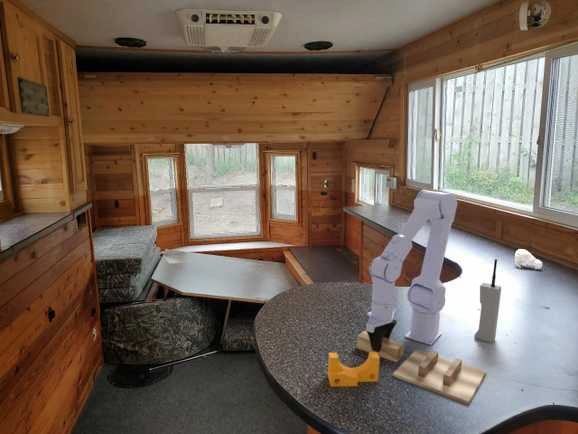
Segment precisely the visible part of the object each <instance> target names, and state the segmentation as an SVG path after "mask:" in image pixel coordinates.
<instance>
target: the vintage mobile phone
mask: <svg viewBox="0 0 578 434" xmlns="http://www.w3.org/2000/svg"><path fill="white" fill-rule="evenodd" d="M497 263H498V259H497V258H495V259H494V263H493V272H492V277H491V278H492V279H491V283H487V282H483V283H481V284H480V286H479V303H480V306H481V307H480V314H479V323H478V329H477V331H476V332H475V333H474V339H476V340H479V341H483V342H486V343H490V344H493V342H494V341H495V340H496V334H497V329H498V328H497V327H498V317H499V310H500V302H501V301H500V300H501V294H502V287H501V286H500V285H496V278H497V277H496V271H497Z"/></svg>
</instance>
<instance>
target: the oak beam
mask: <svg viewBox="0 0 578 434" xmlns="http://www.w3.org/2000/svg"><path fill="white" fill-rule="evenodd" d="M404 345H405V344H404V343H402V342H399V341H396V340H393V339H390V338H389V339H387V338H384V337H383V340H382V345H381V349H380V351H379V352H377V354H378V355H379V357H380V358H383V359H386V360H388V361H391V362H395V363H397V362H399V361H400V360H401V359H402V358H403V357H404ZM356 349H358V350H361V351H364V352H367V353H369V352H376V351H373V350H372V348H371V343H370V339H369V336H368V333H367V331H366V330H363V331H362V332H361V333H359V334H358V335H357V337H356Z"/></svg>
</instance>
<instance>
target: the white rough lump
mask: <svg viewBox="0 0 578 434" xmlns="http://www.w3.org/2000/svg"><path fill="white" fill-rule="evenodd" d="M514 262H515V265H516V267H519V269H522V266H531V267H534V270H537V269H538V270H540V269H541V268H542V267H543V262H542V261H541V260H540V259H537V258H536V257H535V256H534V255H532V253H531V252H529V251H528V250H527V249H523V248H522V249H521V248H519V249H517V250H516V251H515V254H514ZM521 265H522V266H521Z"/></svg>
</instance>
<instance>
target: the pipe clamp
mask: <svg viewBox="0 0 578 434" xmlns="http://www.w3.org/2000/svg"><path fill="white" fill-rule="evenodd" d="M380 359H381V357H380V356H379V355H378V354H377V352H368V356H367V358H366V360H365V361H364V362H363V363H362V364H359V366H355V367H348V366H347V365H344V364H342V363H341V361H340V360H339V355H338V353H337V352H328V364H327V379H328V382H329V385H330V387H358V383H366V382H367V383H369V382H374V383H375V382H379V374H380Z"/></svg>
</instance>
